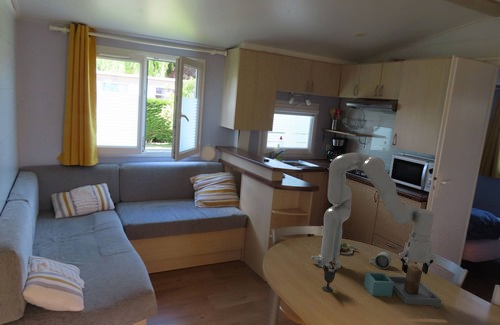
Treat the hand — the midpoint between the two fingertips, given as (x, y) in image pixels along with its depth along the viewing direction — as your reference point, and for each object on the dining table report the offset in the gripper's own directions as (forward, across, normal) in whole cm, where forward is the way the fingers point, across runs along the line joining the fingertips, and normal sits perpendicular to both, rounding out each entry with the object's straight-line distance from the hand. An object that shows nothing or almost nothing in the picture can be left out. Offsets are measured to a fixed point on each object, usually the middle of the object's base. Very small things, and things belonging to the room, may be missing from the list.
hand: (414, 272), depth 159 cm
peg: (+10, 0, 0) cm, 10 cm away
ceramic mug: (+11, -2, +28) cm, 30 cm away
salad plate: (+11, -19, +48) cm, 53 cm away
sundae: (+11, -39, +1) cm, 41 cm away
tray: (+11, 0, 0) cm, 11 cm away
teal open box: (+11, -16, 0) cm, 19 cm away
